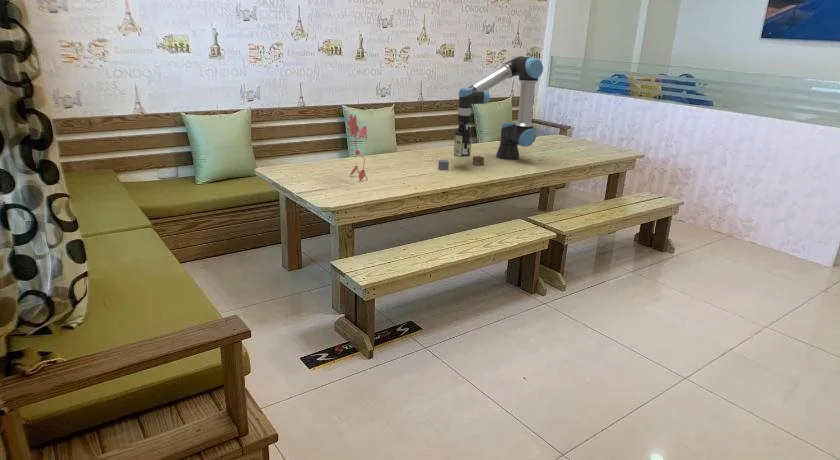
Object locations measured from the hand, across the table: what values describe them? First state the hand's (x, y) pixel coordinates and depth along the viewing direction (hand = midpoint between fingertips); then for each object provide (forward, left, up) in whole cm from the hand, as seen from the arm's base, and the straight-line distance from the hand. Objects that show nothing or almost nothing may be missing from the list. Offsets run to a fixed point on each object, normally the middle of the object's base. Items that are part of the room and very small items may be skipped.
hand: (462, 152), depth 328 cm
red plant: (+68, +24, -10) cm, 73 cm away
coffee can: (0, 0, -3) cm, 3 cm away
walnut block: (-13, -6, -10) cm, 17 cm away
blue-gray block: (+12, +4, -10) cm, 16 cm away
